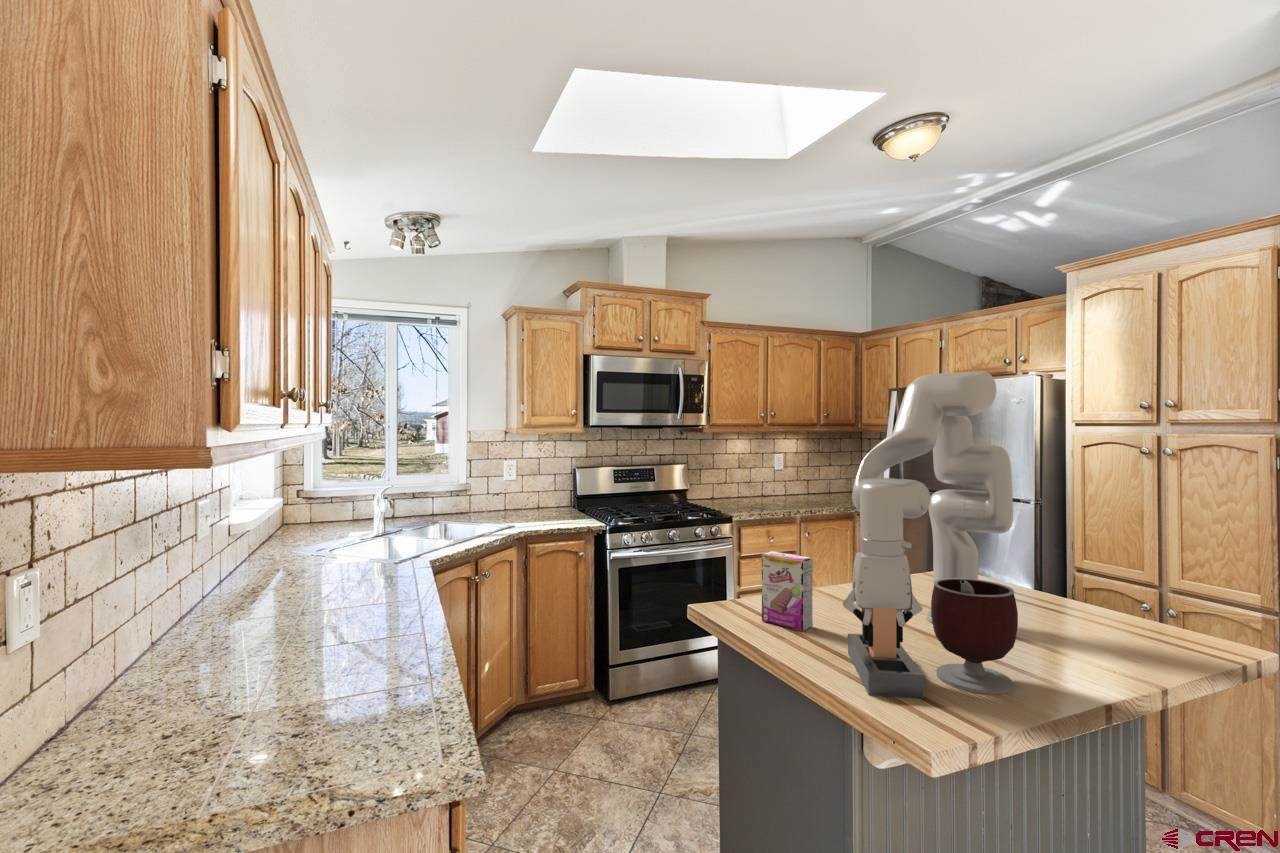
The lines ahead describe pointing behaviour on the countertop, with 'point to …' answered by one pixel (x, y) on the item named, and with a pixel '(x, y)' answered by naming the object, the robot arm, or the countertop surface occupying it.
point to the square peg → (883, 632)
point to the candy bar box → (787, 590)
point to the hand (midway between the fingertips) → (882, 644)
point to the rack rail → (886, 671)
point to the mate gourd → (974, 631)
